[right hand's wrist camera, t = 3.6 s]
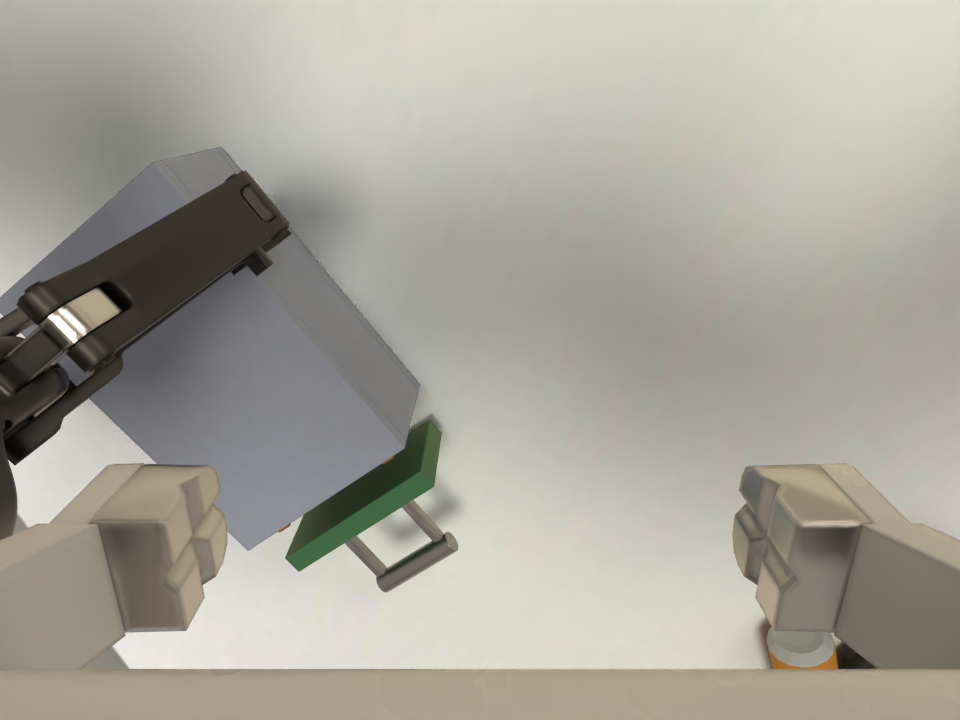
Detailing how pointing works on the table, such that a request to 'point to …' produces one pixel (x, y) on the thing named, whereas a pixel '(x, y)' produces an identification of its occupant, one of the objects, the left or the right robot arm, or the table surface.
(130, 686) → the right robot arm
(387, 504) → the drawer
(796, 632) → the spray gun
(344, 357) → the cabinet
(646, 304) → the table surface
